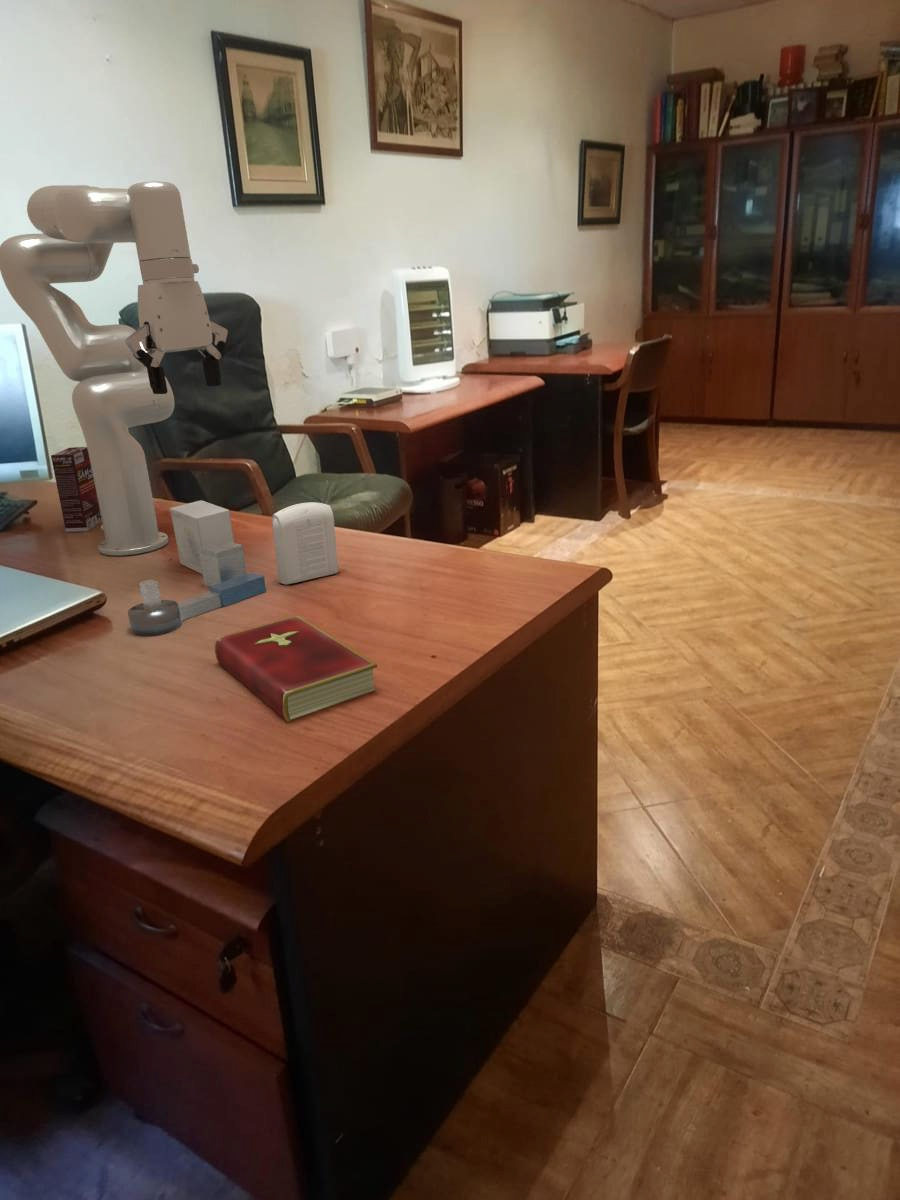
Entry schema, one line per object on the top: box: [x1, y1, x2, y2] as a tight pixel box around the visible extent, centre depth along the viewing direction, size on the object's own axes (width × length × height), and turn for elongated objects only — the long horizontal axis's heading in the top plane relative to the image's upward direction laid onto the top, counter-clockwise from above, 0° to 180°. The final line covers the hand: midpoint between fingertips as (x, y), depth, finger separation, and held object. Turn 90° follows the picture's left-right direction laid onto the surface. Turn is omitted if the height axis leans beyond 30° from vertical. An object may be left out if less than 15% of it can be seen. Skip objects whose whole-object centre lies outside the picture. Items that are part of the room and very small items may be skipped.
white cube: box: [199, 540, 248, 588], centre depth 143 cm, size 5×5×6 cm
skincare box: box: [169, 499, 235, 575], centre depth 152 cm, size 10×6×10 cm, turn 41°
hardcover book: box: [214, 614, 378, 723], centre depth 109 cm, size 12×21×4 cm, turn 35°
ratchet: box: [127, 572, 267, 637], centre depth 132 cm, size 7×22×7 cm, turn 139°
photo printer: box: [271, 501, 339, 585], centre depth 143 cm, size 10×4×12 cm, turn 123°
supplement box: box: [50, 446, 102, 533], centre depth 181 cm, size 9×5×16 cm, turn 179°
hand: (187, 389), depth 138 cm, fingers open, 9 cm apart
